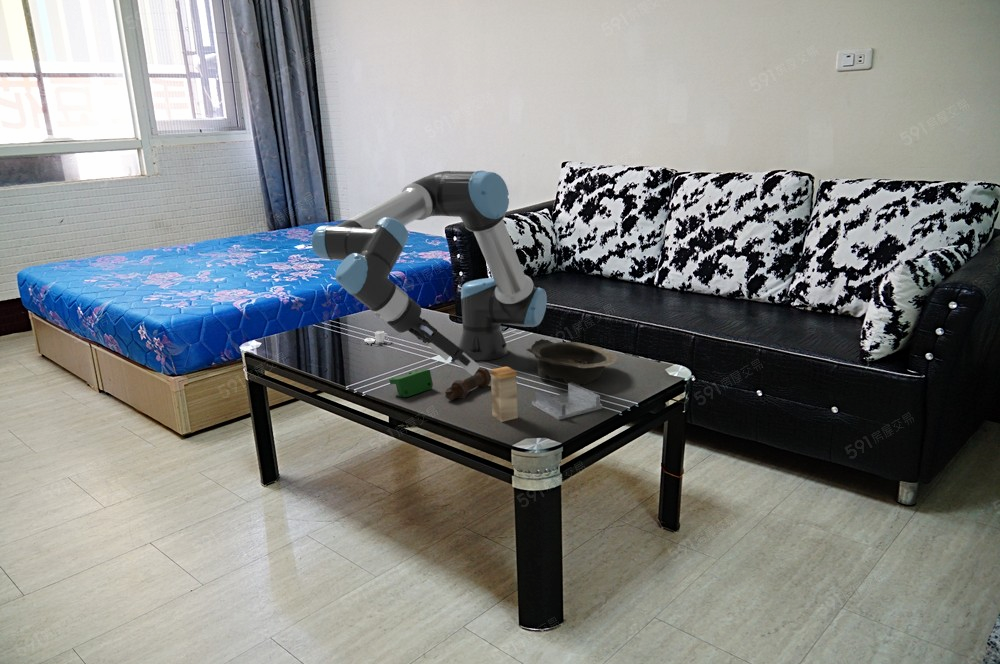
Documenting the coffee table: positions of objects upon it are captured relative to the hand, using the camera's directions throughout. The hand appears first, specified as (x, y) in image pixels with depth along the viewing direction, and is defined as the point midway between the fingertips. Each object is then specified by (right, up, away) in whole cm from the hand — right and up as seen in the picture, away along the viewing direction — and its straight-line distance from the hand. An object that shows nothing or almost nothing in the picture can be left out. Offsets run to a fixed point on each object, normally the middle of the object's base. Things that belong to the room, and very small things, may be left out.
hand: (462, 363), depth 173 cm
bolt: (0, -9, +27) cm, 28 cm away
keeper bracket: (+25, -12, +15) cm, 31 cm away
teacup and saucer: (-32, +4, +77) cm, 84 cm away
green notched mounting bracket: (-15, -9, +29) cm, 34 cm away
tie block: (+10, -14, +10) cm, 20 cm away
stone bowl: (+29, -5, +37) cm, 48 cm away
